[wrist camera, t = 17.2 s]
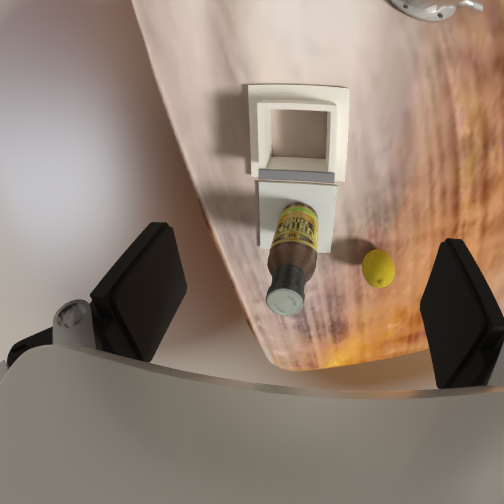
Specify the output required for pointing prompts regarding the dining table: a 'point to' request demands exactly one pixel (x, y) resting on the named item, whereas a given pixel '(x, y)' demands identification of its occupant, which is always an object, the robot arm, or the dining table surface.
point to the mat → (286, 193)
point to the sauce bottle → (292, 258)
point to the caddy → (298, 99)
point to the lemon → (378, 268)
